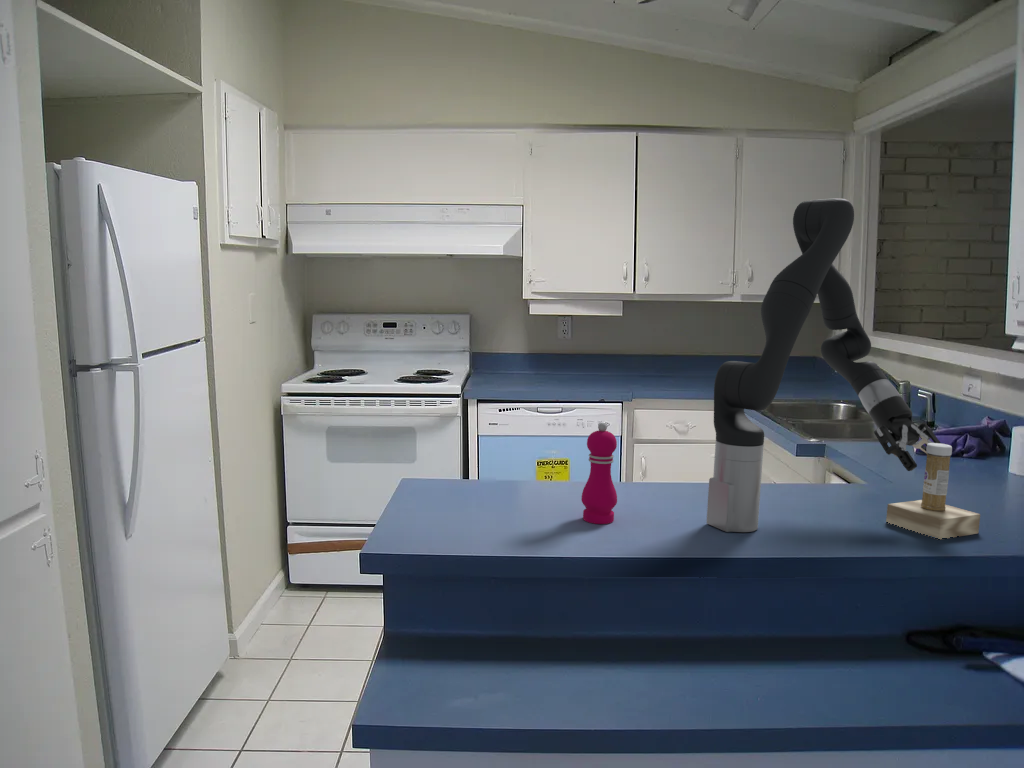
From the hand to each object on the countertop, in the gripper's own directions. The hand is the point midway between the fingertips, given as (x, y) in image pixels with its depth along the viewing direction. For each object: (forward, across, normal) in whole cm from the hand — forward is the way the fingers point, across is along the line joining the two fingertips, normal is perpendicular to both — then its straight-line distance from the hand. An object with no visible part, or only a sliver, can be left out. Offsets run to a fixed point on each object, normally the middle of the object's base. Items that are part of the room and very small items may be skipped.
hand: (927, 467), depth 159 cm
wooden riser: (+10, 0, +7) cm, 12 cm away
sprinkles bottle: (+7, 0, +5) cm, 9 cm away
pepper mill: (-9, -63, +27) cm, 69 cm away
